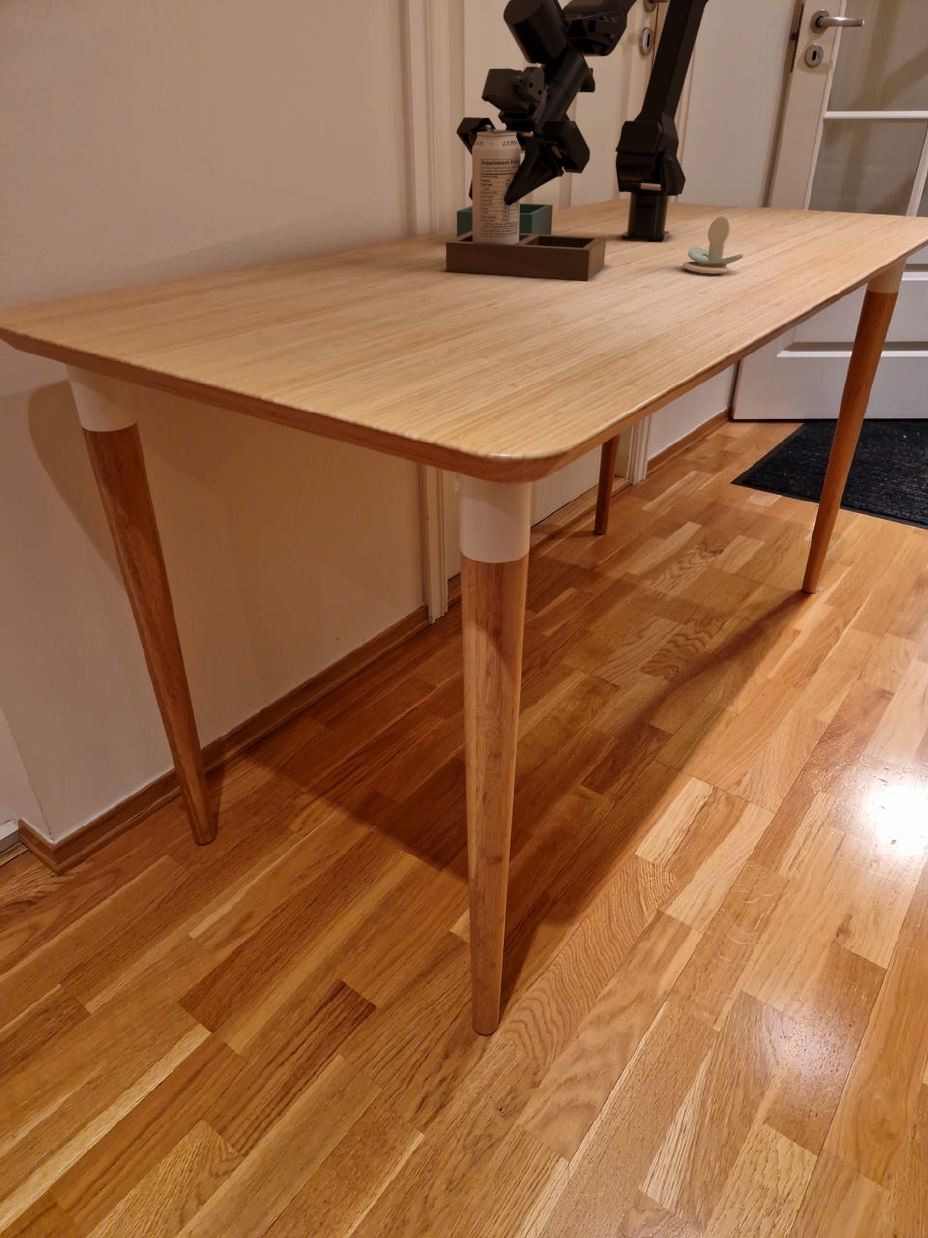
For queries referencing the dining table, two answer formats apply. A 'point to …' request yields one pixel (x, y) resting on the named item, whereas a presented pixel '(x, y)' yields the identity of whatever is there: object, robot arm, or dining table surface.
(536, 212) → the green square tray
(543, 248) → the brown divided tray
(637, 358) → the dining table surface
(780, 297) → the dining table surface
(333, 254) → the dining table surface
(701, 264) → the pacifier
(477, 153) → the energy drink can
